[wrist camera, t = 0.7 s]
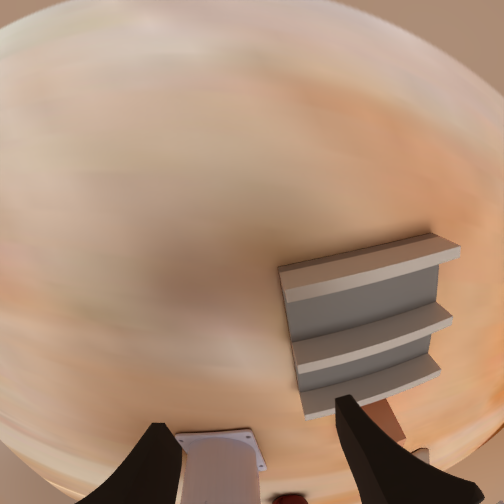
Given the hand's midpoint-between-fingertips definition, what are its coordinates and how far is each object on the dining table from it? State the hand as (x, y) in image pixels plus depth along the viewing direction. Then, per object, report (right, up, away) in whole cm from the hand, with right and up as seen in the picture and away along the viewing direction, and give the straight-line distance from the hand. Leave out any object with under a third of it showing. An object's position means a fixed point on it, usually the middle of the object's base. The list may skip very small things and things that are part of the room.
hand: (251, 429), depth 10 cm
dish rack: (+9, +2, +10) cm, 13 cm away
